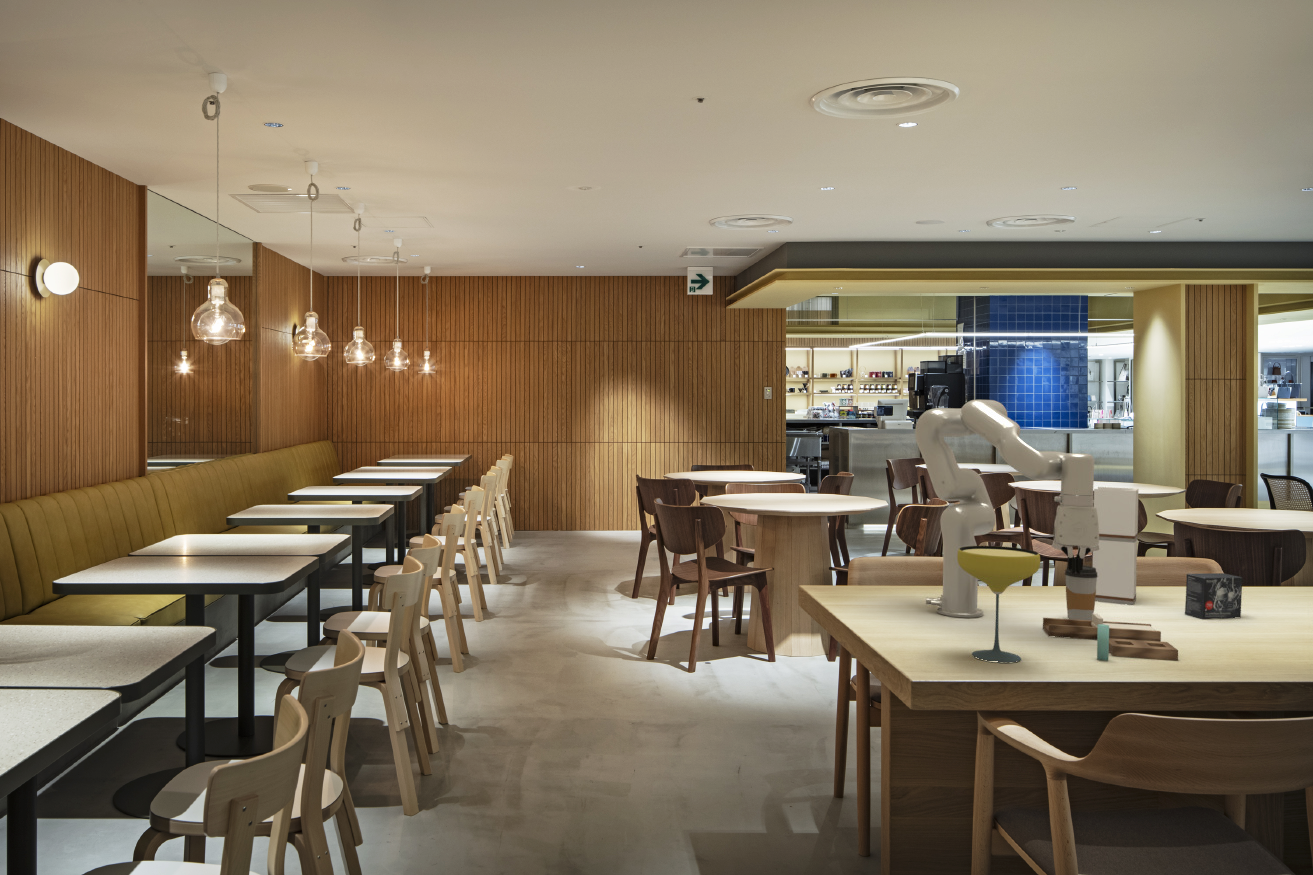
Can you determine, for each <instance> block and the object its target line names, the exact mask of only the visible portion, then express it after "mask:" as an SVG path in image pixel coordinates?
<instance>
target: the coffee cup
mask: <svg viewBox="0 0 1313 875" xmlns="http://www.w3.org/2000/svg"><path fill="white" fill-rule="evenodd" d="M1064 571H1065V572H1064V575H1065V597H1066V612H1067V614H1066V615H1067V619H1075V620H1091V621H1092V613H1095V604H1096V601H1095V596H1096V582H1097V577H1098V576H1097V572H1096V568H1094V567H1093V566H1088V565H1083V569H1082V570H1080V574H1077V573H1076V572H1075V573H1074V574H1073V573H1071V572H1070V570H1068V569H1067V568H1066V569H1065V570H1064Z"/></svg>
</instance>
